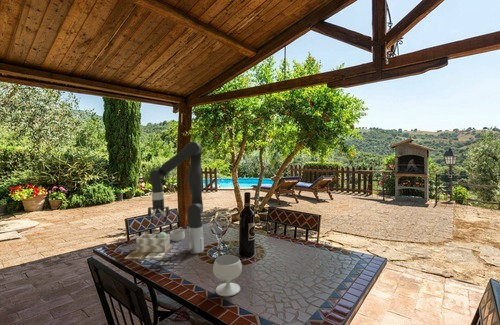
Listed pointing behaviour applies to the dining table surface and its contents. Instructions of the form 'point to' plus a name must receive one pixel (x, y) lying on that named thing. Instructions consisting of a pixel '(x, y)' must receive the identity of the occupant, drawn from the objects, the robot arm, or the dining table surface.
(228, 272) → the chalice
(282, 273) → the dining table surface
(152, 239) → the sorting board
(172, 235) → the teacup
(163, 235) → the sage ball
